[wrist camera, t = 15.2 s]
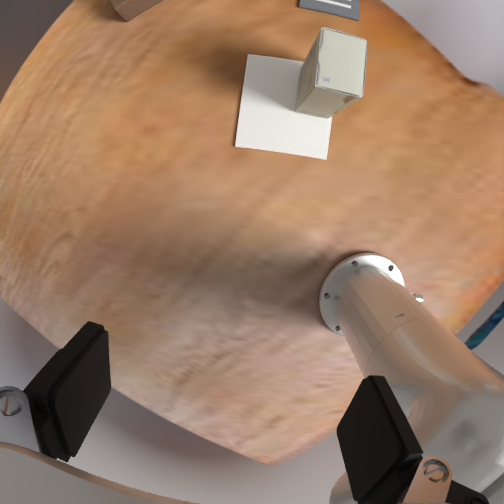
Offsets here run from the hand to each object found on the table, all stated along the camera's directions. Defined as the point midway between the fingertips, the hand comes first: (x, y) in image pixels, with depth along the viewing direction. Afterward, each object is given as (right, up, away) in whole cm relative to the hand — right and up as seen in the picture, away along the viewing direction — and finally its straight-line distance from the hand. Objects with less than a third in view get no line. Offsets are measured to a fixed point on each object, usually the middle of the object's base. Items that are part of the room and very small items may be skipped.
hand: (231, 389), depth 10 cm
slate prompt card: (+11, +38, +19) cm, 44 cm away
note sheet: (+5, +22, +24) cm, 33 cm away
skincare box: (+8, +24, +23) cm, 34 cm away
